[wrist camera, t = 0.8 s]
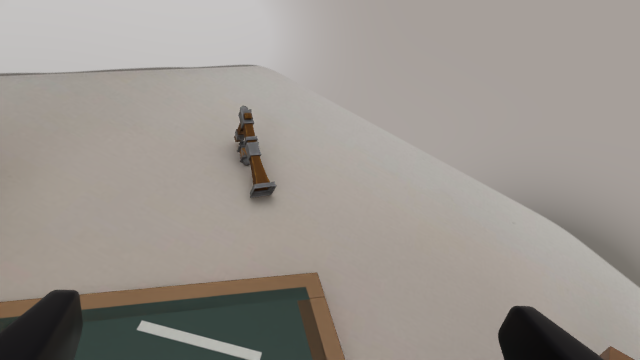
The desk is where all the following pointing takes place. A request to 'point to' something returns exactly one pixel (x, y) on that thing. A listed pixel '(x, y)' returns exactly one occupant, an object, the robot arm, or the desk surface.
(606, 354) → the duster
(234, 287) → the board
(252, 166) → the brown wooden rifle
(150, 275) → the desk surface
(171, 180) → the desk surface
